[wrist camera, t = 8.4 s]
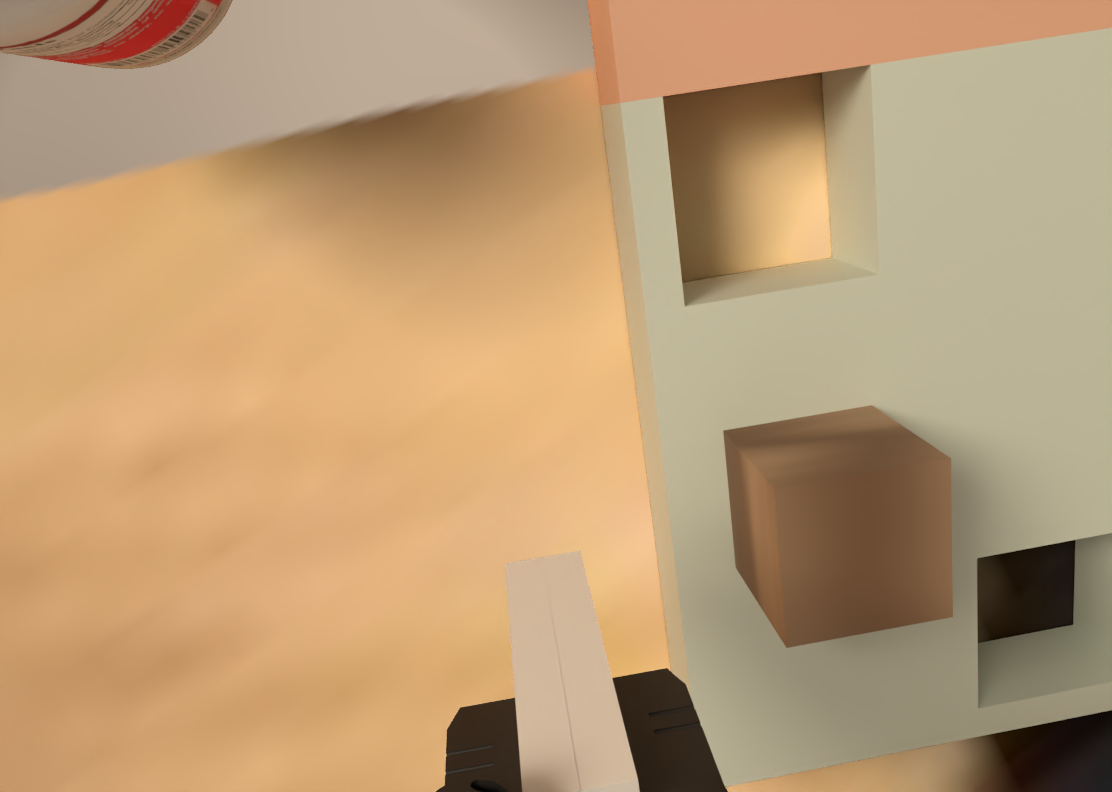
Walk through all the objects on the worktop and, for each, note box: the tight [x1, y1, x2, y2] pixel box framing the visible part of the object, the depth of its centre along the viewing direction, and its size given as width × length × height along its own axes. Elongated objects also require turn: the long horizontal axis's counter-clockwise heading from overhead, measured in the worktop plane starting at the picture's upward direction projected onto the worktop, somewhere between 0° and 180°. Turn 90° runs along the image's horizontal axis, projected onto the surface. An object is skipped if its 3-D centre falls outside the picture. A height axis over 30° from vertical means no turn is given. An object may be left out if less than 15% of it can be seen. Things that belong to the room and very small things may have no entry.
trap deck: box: [588, 0, 1112, 787], centre depth 24 cm, size 16×27×6 cm, turn 8°
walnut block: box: [723, 405, 953, 648], centre depth 22 cm, size 4×4×4 cm
